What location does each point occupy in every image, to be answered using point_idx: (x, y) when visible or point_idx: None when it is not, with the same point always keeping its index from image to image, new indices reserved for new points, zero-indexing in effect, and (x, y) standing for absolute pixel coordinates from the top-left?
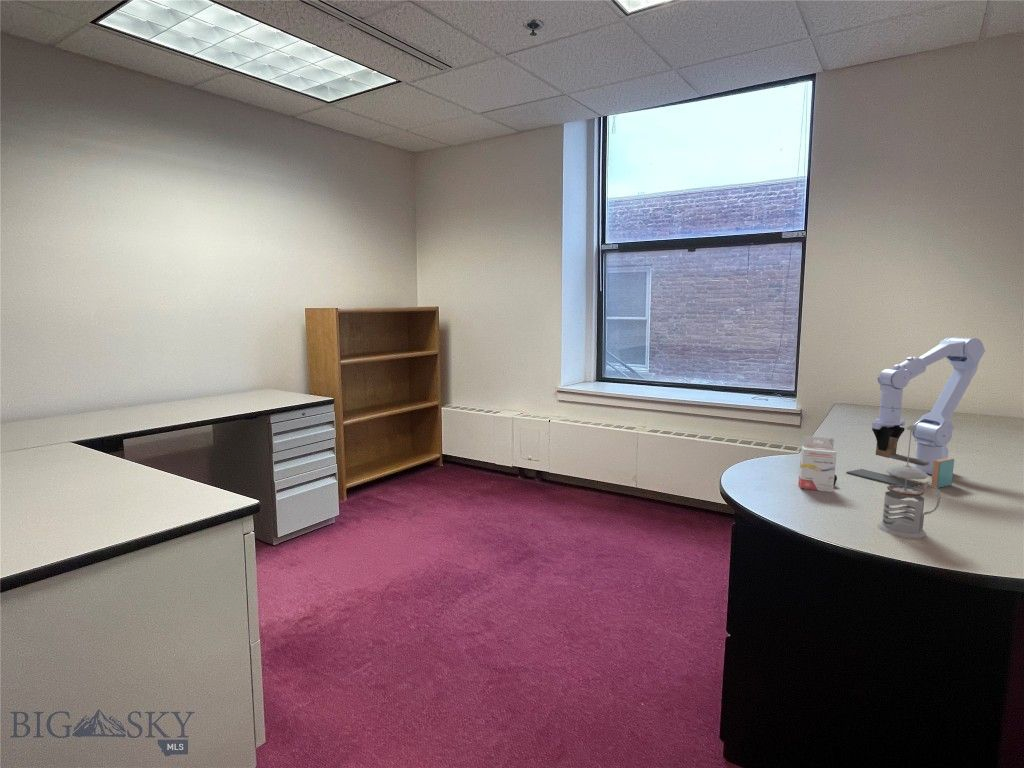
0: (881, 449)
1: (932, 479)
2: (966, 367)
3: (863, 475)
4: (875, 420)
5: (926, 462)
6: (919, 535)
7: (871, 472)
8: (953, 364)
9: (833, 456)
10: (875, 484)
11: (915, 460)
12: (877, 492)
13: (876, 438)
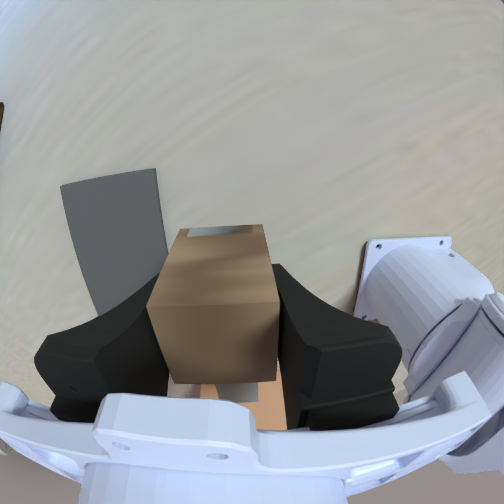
0: None
1: (200, 392)
2: None
3: (79, 246)
4: (99, 416)
5: (237, 402)
6: None
7: (140, 229)
8: None
9: None
10: (67, 306)
11: (221, 385)
12: (40, 337)
13: (115, 310)
